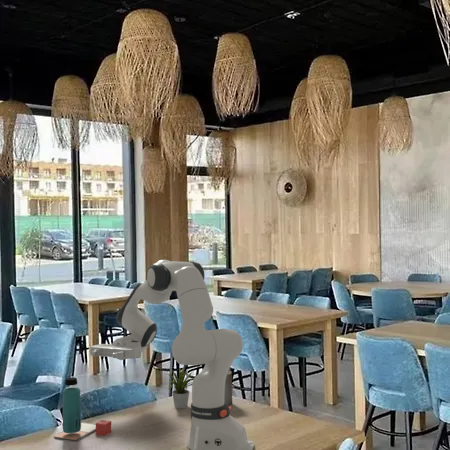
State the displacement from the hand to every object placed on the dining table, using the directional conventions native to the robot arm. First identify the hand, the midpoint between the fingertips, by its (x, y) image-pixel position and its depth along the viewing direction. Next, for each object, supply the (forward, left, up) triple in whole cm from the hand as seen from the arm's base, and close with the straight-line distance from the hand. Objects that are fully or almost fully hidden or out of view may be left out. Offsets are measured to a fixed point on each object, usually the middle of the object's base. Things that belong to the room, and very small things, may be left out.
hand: (103, 355), depth 229 cm
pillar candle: (-35, -33, -25) cm, 54 cm away
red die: (-9, +14, -25) cm, 30 cm away
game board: (0, +16, -25) cm, 29 cm away
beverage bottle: (0, +21, -24) cm, 32 cm away
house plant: (-21, -23, -25) cm, 40 cm away
